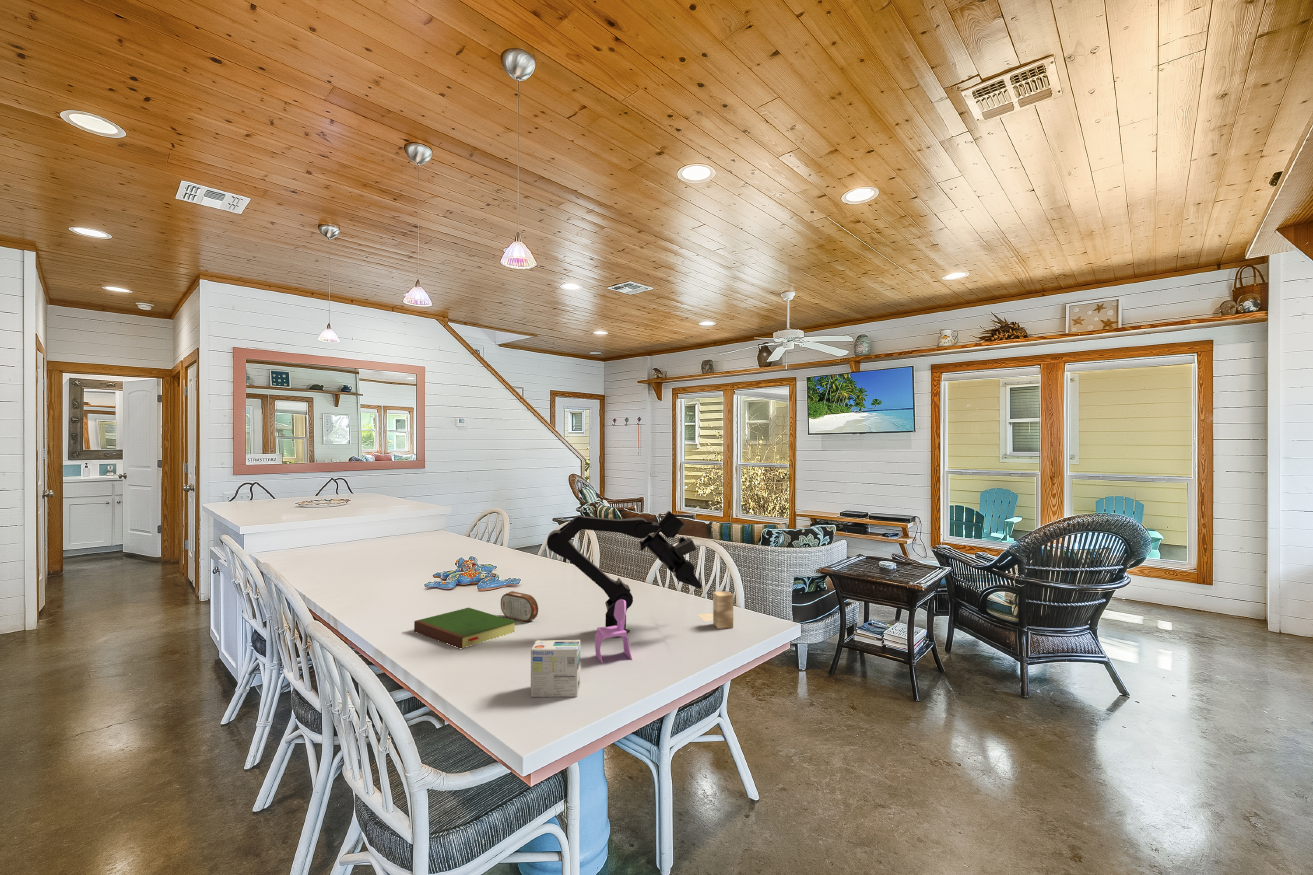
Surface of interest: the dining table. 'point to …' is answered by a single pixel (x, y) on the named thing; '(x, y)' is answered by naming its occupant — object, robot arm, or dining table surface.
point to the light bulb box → (555, 668)
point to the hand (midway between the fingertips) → (697, 584)
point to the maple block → (723, 609)
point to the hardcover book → (464, 627)
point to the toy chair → (614, 630)
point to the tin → (519, 606)
